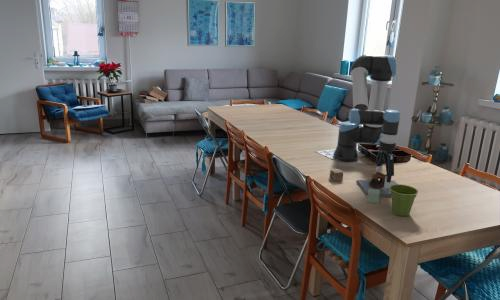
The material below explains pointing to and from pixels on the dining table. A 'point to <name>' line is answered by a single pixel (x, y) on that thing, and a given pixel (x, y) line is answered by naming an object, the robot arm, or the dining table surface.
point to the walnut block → (336, 175)
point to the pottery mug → (375, 181)
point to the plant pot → (402, 199)
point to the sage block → (373, 195)
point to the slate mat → (383, 191)
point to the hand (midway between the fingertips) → (382, 182)
